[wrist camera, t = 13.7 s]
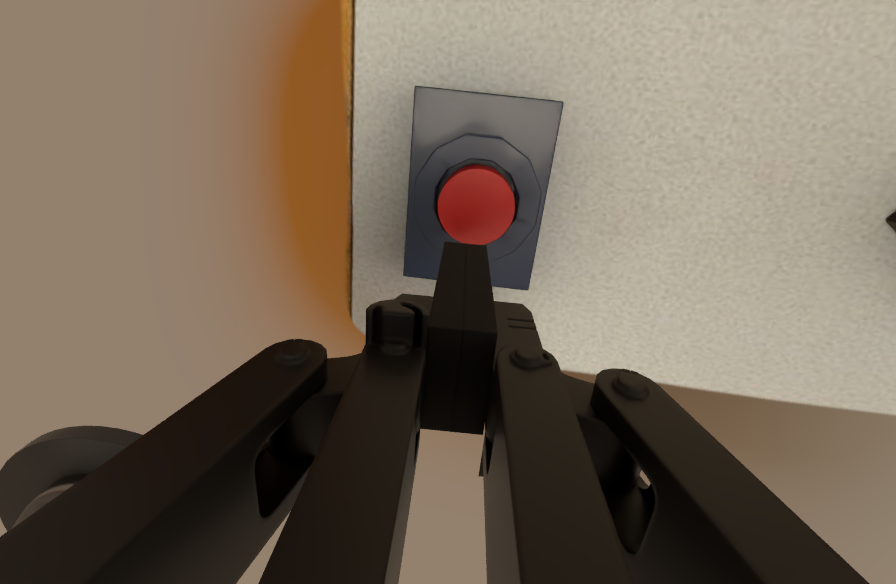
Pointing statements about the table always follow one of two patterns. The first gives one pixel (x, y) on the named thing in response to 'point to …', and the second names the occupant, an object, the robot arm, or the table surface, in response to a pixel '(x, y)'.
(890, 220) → the hob panel
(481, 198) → the button
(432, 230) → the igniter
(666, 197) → the table surface
